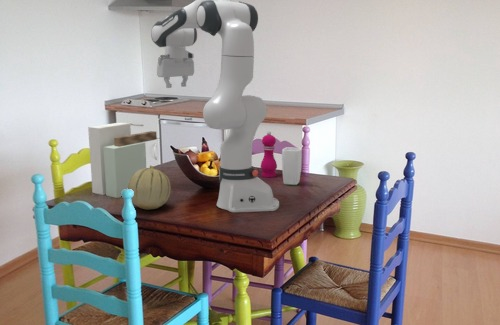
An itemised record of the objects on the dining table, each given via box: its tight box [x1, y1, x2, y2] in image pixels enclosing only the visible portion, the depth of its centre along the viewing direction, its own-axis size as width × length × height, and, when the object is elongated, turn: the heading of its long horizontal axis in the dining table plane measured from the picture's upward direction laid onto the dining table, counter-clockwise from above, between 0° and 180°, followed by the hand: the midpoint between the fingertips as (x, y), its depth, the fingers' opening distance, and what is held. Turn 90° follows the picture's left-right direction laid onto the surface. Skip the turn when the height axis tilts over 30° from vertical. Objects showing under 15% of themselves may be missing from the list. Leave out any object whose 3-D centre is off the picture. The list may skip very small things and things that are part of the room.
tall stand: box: [87, 122, 132, 196], centre depth 211 cm, size 16×6×26 cm, turn 146°
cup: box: [281, 146, 303, 186], centre depth 220 cm, size 7×7×15 cm
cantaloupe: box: [128, 165, 172, 211], centre depth 186 cm, size 15×15×15 cm
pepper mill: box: [260, 131, 278, 179], centre depth 233 cm, size 7×7×20 cm
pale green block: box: [103, 142, 147, 199], centre depth 207 cm, size 16×6×19 cm, turn 146°
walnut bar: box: [114, 130, 158, 147], centre depth 210 cm, size 20×3×3 cm, turn 146°
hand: (176, 87), depth 229 cm, fingers open, 8 cm apart
